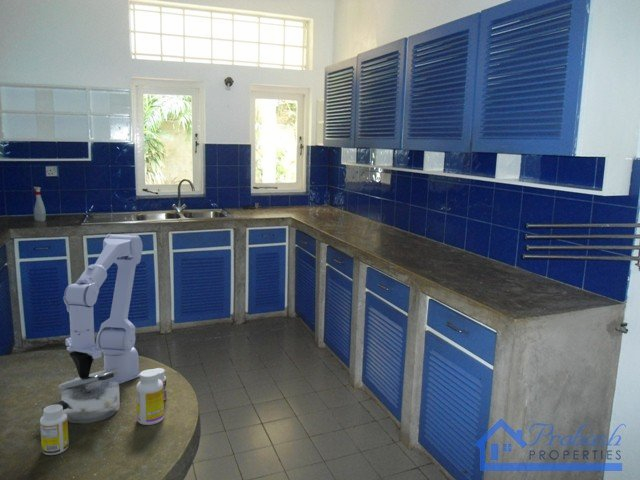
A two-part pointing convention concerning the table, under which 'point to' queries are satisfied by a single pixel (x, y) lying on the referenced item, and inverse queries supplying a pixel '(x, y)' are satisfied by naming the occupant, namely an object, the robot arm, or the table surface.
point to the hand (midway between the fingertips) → (84, 377)
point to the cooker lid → (89, 379)
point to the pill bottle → (163, 379)
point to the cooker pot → (90, 401)
